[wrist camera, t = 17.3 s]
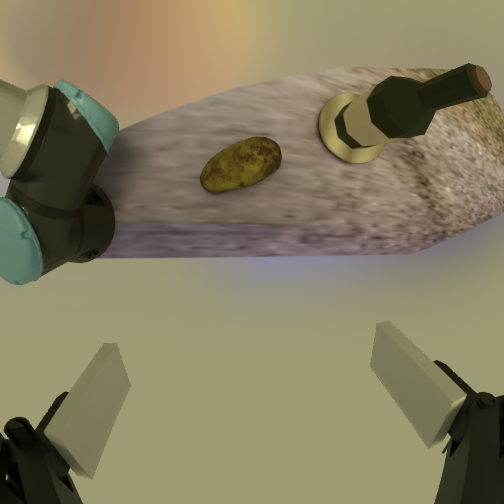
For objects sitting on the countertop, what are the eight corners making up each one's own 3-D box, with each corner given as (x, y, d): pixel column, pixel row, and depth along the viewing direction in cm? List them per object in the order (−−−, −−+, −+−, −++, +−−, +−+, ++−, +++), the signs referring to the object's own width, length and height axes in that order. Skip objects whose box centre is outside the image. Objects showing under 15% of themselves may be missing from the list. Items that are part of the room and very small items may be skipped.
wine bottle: (324, 116, 42) (437, 42, 13) (359, 98, 41) (477, 33, 12) (350, 158, 44) (486, 135, 14) (383, 138, 43) (516, 109, 14)
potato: (199, 146, 44) (192, 138, 37) (274, 140, 45) (282, 131, 37) (203, 194, 46) (197, 195, 39) (278, 187, 47) (287, 187, 39)
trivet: (312, 156, 46) (317, 154, 43) (318, 90, 43) (323, 85, 40) (376, 170, 47) (384, 169, 44) (380, 108, 45) (387, 104, 42)
